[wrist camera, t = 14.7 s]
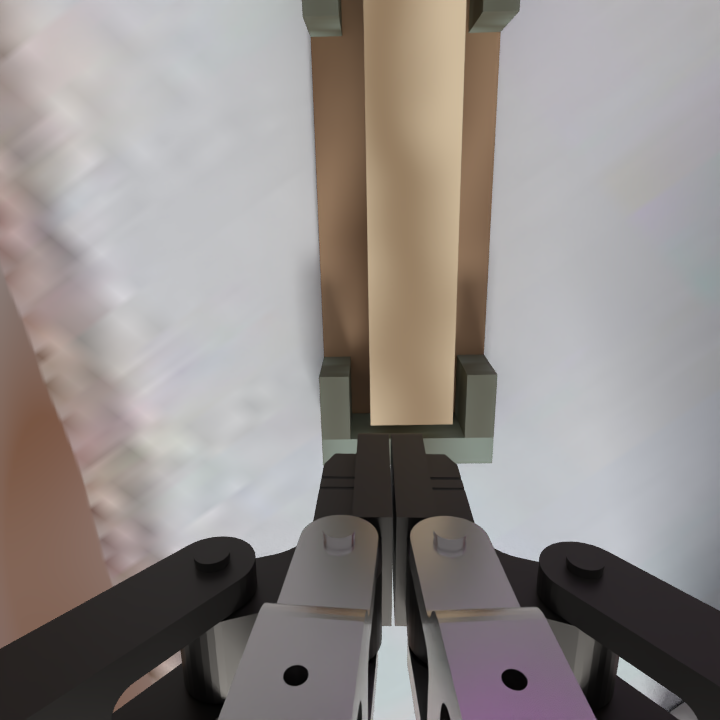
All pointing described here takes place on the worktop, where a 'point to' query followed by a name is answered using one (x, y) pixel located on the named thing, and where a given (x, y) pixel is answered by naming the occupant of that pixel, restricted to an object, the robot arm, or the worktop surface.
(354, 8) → the holder
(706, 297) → the worktop surface
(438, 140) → the slat
